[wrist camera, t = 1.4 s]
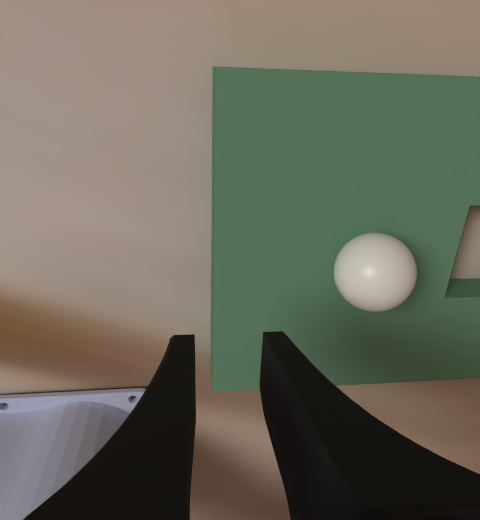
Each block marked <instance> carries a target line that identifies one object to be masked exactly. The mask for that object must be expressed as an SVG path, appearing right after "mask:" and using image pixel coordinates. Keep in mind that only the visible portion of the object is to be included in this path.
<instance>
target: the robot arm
mask: <svg viewBox="0 0 480 520" xmlns="http://www.w3.org/2000/svg"><path fill="white" fill-rule="evenodd" d="M259 386H260V393H261V400H262V406H263V412H264V417H265V421H266V424H267V428H268V431H269V435H270V439H271V442H272V446H273V449H274V453H275V456H276V460H277V463H278V467H279V470H280V474H281V477H282V481H283V484H284V488H285V493H286V497H287V501H288V506H289V512H290V517H291V520H480V474H478V473H475V472H473V471H471V470H469V469H467V468H465V467H462V466H460V465H458V464H456V463H454V462H451V461H449V460H447V459H445V458H443V457H441V456H439V455H437V454H435V453H433V452H432V451H430V450H428V449H426V448H424V447H422V446H420V445H418V444H417V443H415V442H413V441H412V440H410V439H408V438H406V437H405V436H403V435H401V434H400V433H398V432H397V431H395V430H393V429H392V428H390V427H389V426H387V425H386V424H384V423H383V422H381V421H380V420H378V419H377V418H375V417H374V416H372V415H371V414H370V413H368V412H367V411H366V410H364V409H363V408H362V407H360V406H359V405H358V404H356V403H355V402H354V401H352V400H351V399H350V398H349V397H348V396H346V395H345V394H344V393H343V392H342V391H340V390H339V389H338V388H337V387H336V386H335V385H334V384H333V383H332V382H330V381H329V380H328V379H327V378H326V377H325V376H324V375H323V374H322V373H321V372H320V371H319V370H318V369H317V368H316V367H315V366H314V365H313V364H312V363H311V362H310V361H309V359H308V358H307V357H306V356H305V355H304V354H303V353H302V352H301V351H300V350H299V349H298V347H297V346H296V345H295V344H294V343H293V342H292V341H291V339H290V338H289V337H288V336H287V335H286V334H285V333H284V332H283V331H274V332H263V339H262V354H261V368H260V382H259ZM130 396H135V397H136V398H131V397H130ZM3 403H6V404H8V405H5V404H3ZM195 424H196V395H195V337H194V335H174V336H172V337H171V338H170V341H169V344H168V347H167V350H166V352H165V355H164V357H163V359H162V361H161V363H160V365H159V367H158V369H157V371H156V373H155V375H154V377H153V378H152V380H151V382H150V384H149V385H148V387H147V389H146V388H131V389H111V390H92V391H73V392H53V393H34V394H15V395H0V520H190V488H191V475H192V463H193V450H194V437H195Z"/></svg>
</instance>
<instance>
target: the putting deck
mask: <svg viewBox="0 0 480 520" xmlns="http://www.w3.org/2000/svg"><path fill="white" fill-rule="evenodd" d="M470 206H480V77H468V76H442V75H415V74H389V73H362V72H336V71H309V70H283V69H257V68H230V67H213V122H212V266H211V377H212V390H213V392H226V391H244V390H260V386H259V382H260V368H261V354H262V339H263V332H274V331H283V332H284V333H285V334H286V335H287V336H288V337H289V338H290V339H291V341H292V342H293V343H294V344H295V345H296V346H297V347H298V349H299V350H300V351H301V352H302V353H303V354H304V355H305V356H306V357H307V358H308V359H309V361H310V362H311V363H312V364H313V365H314V366H315V367H316V368H317V369H318V370H319V371H320V372H321V373H322V374H323V375H324V376H325V377H326V378H327V379H328V380H329V381H330V382H332V383H333V384H334V385H335V386H337V385H355V384H374V383H392V382H411V381H429V380H448V379H466V378H480V279H450V276H451V272H452V268H453V265H454V261H455V257H456V254H457V250H458V247H459V243H460V239H461V236H462V232H463V229H464V225H465V221H466V218H467V214H468V211H469V207H470ZM366 233H384V234H388V235H391V236H393V237H395V238H397V239H399V240H400V241H401V242H403V243H404V244H405V245H406V246H407V247H408V248H409V250H410V251H411V253H412V255H413V257H414V259H415V262H416V266H417V278H416V283H415V286H414V288H413V290H412V292H411V294H410V295H409V296H408V298H407V299H406V300H405V301H404V302H402V303H401V304H400V305H398V306H396V307H395V308H392V309H390V310H386V311H380V312H371V311H365V310H362V309H359V308H357V307H355V306H353V305H352V304H350V303H349V302H348V301H347V300H345V298H344V297H343V296H342V295H341V293H340V292H339V290H338V288H337V286H336V283H335V279H334V265H335V261H336V258H337V256H338V254H339V252H340V250H341V249H342V248H343V246H344V245H345V244H346V243H347V242H349V241H350V240H352V239H353V238H355V237H357V236H359V235H362V234H366ZM449 279H450V280H449Z"/></svg>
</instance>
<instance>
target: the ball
mask: <svg viewBox="0 0 480 520" xmlns="http://www.w3.org/2000/svg"><path fill="white" fill-rule="evenodd" d="M416 278H417V266H416V262H415V259H414V257H413V255H412V253H411V251H410V250H409V248H408V247H407V246H406V245H405V244H404V243H403V242H401V241H400V240H399V239H397V238H395V237H393V236H391V235H388V234H384V233H366V234H362V235H359V236H357V237H355V238H353V239H352V240H350V241H349V242H347V243H346V244H345V245H344V246H343V248H342V249H341V250H340V252H339V254H338V256H337V258H336V261H335V265H334V279H335V283H336V286H337V288H338V290H339V292H340V293H341V295H342V296H343V297H344V298H345V300H347V301H348V302H349V303H350V304H352V305H353V306H355V307H357V308H359V309H362V310H365V311H371V312H380V311H386V310H390V309H392V308H395V307H396V306H398V305H400V304H401V303H402V302H404V301H405V300H406V299H407V298H408V296H409V295H410V294H411V292H412V290H413V288H414V286H415V283H416Z"/></svg>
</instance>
